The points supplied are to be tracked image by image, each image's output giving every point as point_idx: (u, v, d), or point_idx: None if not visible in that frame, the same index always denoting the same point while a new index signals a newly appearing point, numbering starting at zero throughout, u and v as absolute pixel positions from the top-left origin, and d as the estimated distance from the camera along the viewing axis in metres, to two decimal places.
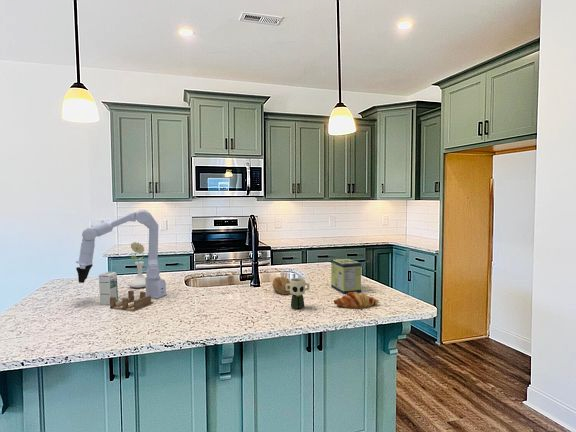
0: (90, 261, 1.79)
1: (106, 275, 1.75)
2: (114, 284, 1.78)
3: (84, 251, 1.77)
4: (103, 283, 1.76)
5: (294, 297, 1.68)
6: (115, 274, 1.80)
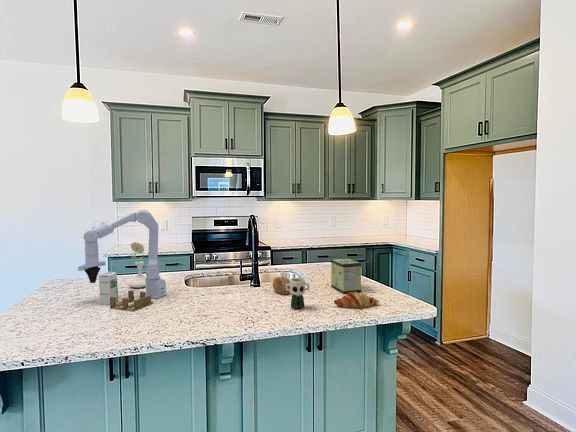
0: (93, 263, 1.79)
1: (106, 275, 1.75)
2: (114, 284, 1.78)
3: (89, 253, 1.78)
4: (103, 283, 1.76)
5: (294, 297, 1.68)
6: (115, 274, 1.80)
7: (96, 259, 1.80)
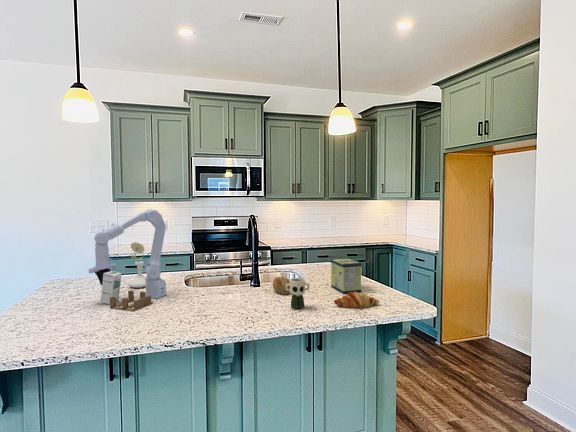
0: (103, 265, 1.77)
1: (111, 275, 1.75)
2: (117, 285, 1.78)
3: (100, 255, 1.76)
4: (107, 282, 1.76)
5: (294, 297, 1.68)
6: (120, 275, 1.79)
7: (106, 261, 1.78)
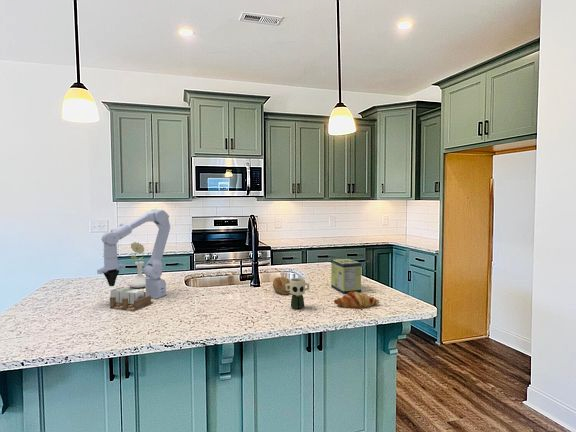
0: (112, 266, 1.75)
1: None
2: None
3: (110, 256, 1.75)
4: (128, 297, 1.74)
5: (294, 297, 1.68)
6: None
7: (115, 262, 1.76)
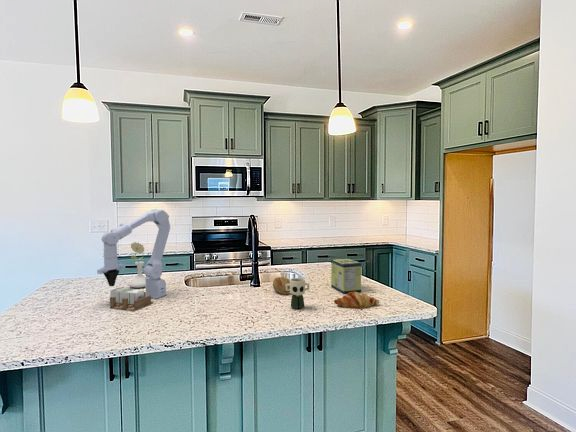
0: (112, 266, 1.75)
1: None
2: None
3: (110, 256, 1.75)
4: (128, 297, 1.74)
5: (294, 297, 1.68)
6: None
7: (115, 262, 1.76)
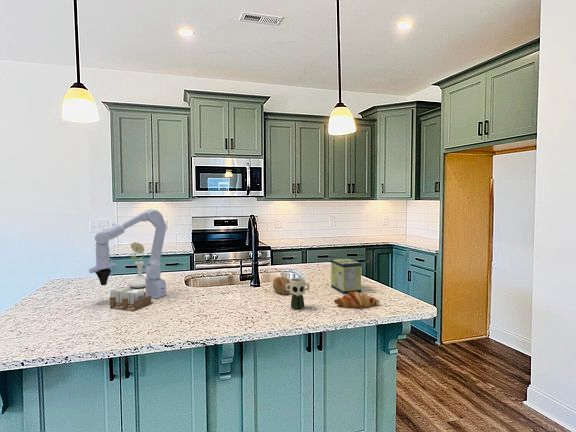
0: (104, 265, 1.77)
1: None
2: None
3: (101, 255, 1.76)
4: (128, 297, 1.74)
5: (294, 297, 1.68)
6: None
7: (107, 261, 1.78)
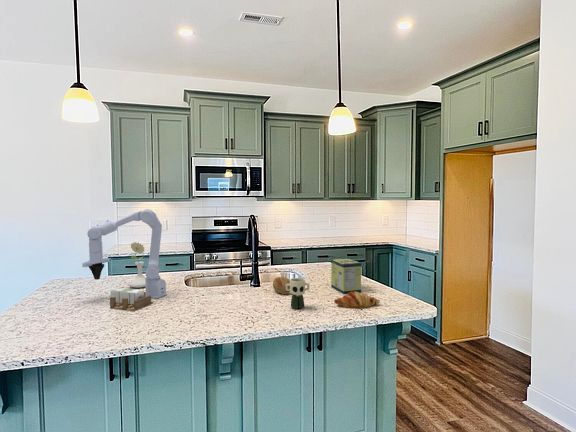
0: (97, 259, 1.81)
1: None
2: None
3: (92, 250, 1.80)
4: (128, 297, 1.74)
5: (294, 297, 1.68)
6: None
7: (100, 256, 1.82)
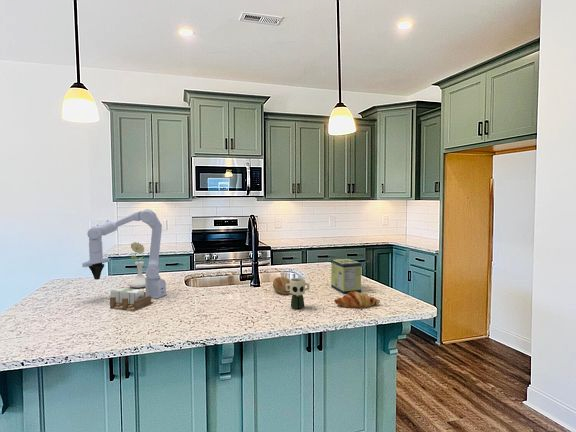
0: (97, 259, 1.81)
1: None
2: None
3: (92, 250, 1.80)
4: (128, 297, 1.74)
5: (294, 297, 1.68)
6: None
7: (100, 256, 1.82)
